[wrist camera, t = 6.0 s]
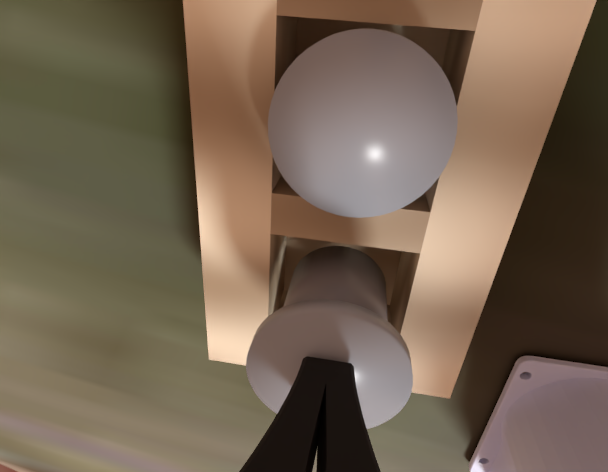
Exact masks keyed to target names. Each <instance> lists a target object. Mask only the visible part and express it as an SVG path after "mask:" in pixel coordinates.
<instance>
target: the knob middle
mask: <svg viewBox="0 0 608 472" xmlns="http://www.w3.org/2000/svg"><path fill="white" fill-rule="evenodd" d="M457 122H458V117H457V106H456V101H455V97H454V93H453V90H452V88H451V85H450V83H449V80H448V79H447V77H446V75H445V73H444V72H443V70H442V68H441V67H440V66H439V65H438V63H437V62H436V61H435V60H434V58H433V57H431V56H430V55H429V54H428V53H427V52H426V51H425V50H424V49H423V48H421V47H420V46H419V45H417V44H416V43H414V42H413V41H411V40H410V39H407V38H405V37H403V36H401V35H399V34H396V33H393V32H390V31H387V30H381V29H374V28H358V29H351V30H346V31H342V32H339V33H335V34H333V35H330V36H328V37H326V38H324V39H322V40H320V41H319V42H317V43H315V44H314V45H312V46H311V47H309V48H308V49H306V50H305V51H304V52H303V53H302V54H300V55H299V56H298V57H297V58H296V59H295V60H294V61H293V63H292V64H291V65H290V66H289V67H288V69H287V70H286V71H285V73H284V74H283V76H282V77H281V79H280V81H279V83H278V85H277V87H276V89H275V92H274V95H273V97H272V100H271V105H270V109H269V117H268V137H269V143H270V148H271V152H272V155H273V158H274V161H275V163H276V165H277V167H278V169H279V171H280V173H281V174H282V176H283V178H284V179H285V180H286V182H287V183H288V184H289V185H290V187H291V188H292V189H293V190H294V191H295V192H296V193H297V194H298V195H299V196H301V197H302V198H303V199H305V200H306V201H307V202H309V203H310V204H312V205H314V206H315V207H317V208H319V209H322V210H324V211H326V212H329V213H332V214H336V215H340V216H345V217H356V218H363V217H374V216H380V215H384V214H387V213H391V212H394V211H396V210H398V209H401V208H403V207H405V206H406V205H408V204H410V203H412V202H413V201H415V200H416V199H417V198H419V197H420V196H422V195H423V194H424V193H425V192H426V191H427V190H428V189H429V188H430V187H431V186H432V185H433V184H434V183H435V181H436V180H437V179H438V178H439V176H440V175H441V173H442V172H443V170H444V169H445V167H446V165H447V163H448V161H449V159H450V157H451V154H452V151H453V148H454V145H455V140H456V134H457Z"/></svg>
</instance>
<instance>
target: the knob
mask: <svg viewBox="0 0 608 472" xmlns="http://www.w3.org/2000/svg"><path fill="white" fill-rule="evenodd" d="M307 356H309V357H315V358H321V359H328V360H334V361H341V362H347V363H351V364H352V365H353V366H354V374H355V382H356V388H357V393H358V398H359V402H360V406H361V411H362V414H363V418H364V422H365V425H366V429H369V428H372V427H375V426H378V425H380V424H382V423H384V422H386V421H388V420H389V419H391V418H393V417H394V416H395V415H396V414H397V413H399V412H400V410H401V409H402V408H403V407H404V406H405V404H406V403H407V401H408V399H409V397H410V394H411V392H412V386H413V374H412V365H411V358H410V352H409V350H408V347H407V344H406V343H405V341H404V339H403V337H402V336H401V335H400V333H399V332H398V331H397V330H396V329H395V328H394V327H393V326H392V325H391V324H390V323H389V322H388V317H387V298H386V282H385V277H384V275H383V272H382V270H381V268H380V267H379V266H378V264H377V263H376V262H375V261H374V260H373V259H372V258H371V257H369V256H368V255H366V254H365V253H363V252H361V251H359V250H356V249H353V248H350V247H345V246H327V247H322V248H319V249H316V250H314V251H312V252H310V253H308V254H307V255H306V256H304V257H303V258H302V259H301V260H300V261H299V263H298V264H297V266H296V268H295V270H294V273H293V276H292V279H291V283H290V286H289V289H288V293H287V296H286V299H285V303H284V306H283V307H282V308H280V309H278V310H277V311H275V312H273V313H272V314H271V315H269V316H268V317H267V318H266V319H265V320H264V321H263V322H262V323H261V325H260V326H259V327H258V329H257V331H256V333H255V335H254V337H253V340H252V343H251V345H250V348H249V351H248V355H247V360H246V370H247V376H248V379H249V382H250V384H251V386H252V388H253V390H254V392H255V393H256V395H257V396H258V397H259V398H260V400H261V401H262V402H263V403H264V404H265V405H266V406H267V407H269V408H270V409H271V410H272V411H274V412H275V413H278V412H279V410H280V408H281V406H282V405H283V403H284V401H285V399H286V397H287V395H288V393H289V391H290V389H291V387H292V385H293V383H294V381H295V379H296V377H297V374H298V372H299V369H300V366H301V363H302V360H303V358H305V357H307Z"/></svg>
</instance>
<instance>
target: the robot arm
mask: <svg viewBox="0 0 608 472" xmlns="http://www.w3.org/2000/svg"><path fill="white" fill-rule="evenodd" d="M523 372H526V373H523ZM317 446H318V449H317ZM316 451H317V472H380V469H379V466H378V463H377V460H376V458H375V455H374V451H373V448H372V445H371V442H370V439H369V435H368V432H367V429H366V425H365V422H364V418H363V414H362V411H361V406H360V402H359V398H358V393H357V388H356V382H355V374H354V366H353V365H352V364H351V363H347V362H341V361H334V360H328V359H321V358H315V357H309V356H307V357H305V358H303V360H302V363H301V366H300V369H299V372H298V374H297V377H296V379H295V381H294V383H293V385H292V387H291V389H290V391H289V393H288V395H287V397H286V399H285V401H284V403H283V405H282V406H281V408H280V410H279V412H278V413H277V415H276V417H275V419H274V420H273V422H272V424H271V425H270V427H269V429H268V430H267V432H266V433H265V435H264V436H263V438H262V439H261V441H260V443H259V444H258V446H257V447H256V449H255V450H254V452H253V453H252V455H251V456H250V457H249V459H248V460H247V462H246V463H245V465H244V466H243V467H242V469H241V470H240V471H239V472H312V469H313V465H314V460H315V455H316ZM469 470H470V472H608V367H603V366H596V365H590V364H583V363H576V362H570V361H563V360H556V359H550V358H543V357H536V356H522V357H520V358H518V360H517V361H516V363H515V365H514V367H513V369H512V371H511V373H510V376H509V378H508V380H507V382H506V384H505V387H504V389H503V391H502V393H501V395H500V397H499V400H498V402H497V404H496V406H495V408H494V410H493V413H492V415H491V417H490V419H489V421H488V423H487V426H486V428H485V430H484V432H483V434H482V437H481V439H480V441H479V443H478V445H477V447H476V450H475V452H474V454H473V456H472V458H471V460H470V463H469Z"/></svg>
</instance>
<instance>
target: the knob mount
mask: <svg viewBox="0 0 608 472" xmlns="http://www.w3.org/2000/svg"><path fill="white" fill-rule="evenodd" d="M596 1H597V0H183V8H184V22H185V36H186V50H187V63H188V77H189V91H190V105H191V118H192V132H193V146H194V160H195V173H196V187H197V201H198V215H199V228H200V242H201V256H202V270H203V284H204V297H205V311H206V325H207V339H208V352H209V360H216V361H222V362H228V363H234V364H240V365H246V360H247V355H248V351H249V348H250V345H251V343H252V340H253V337H254V335H255V333H256V331H257V329H258V327H259V326H260V325H261V323H262V322H263V321H264V320H265V319H266V318H267V317H268V316H269V315H271V314H272V313H273V312H275V311H277V310H278V309H280V308H282V307H283V306H284V303H285V299H286V296H287V293H288V289H289V286H290V283H291V279H292V276H293V273H294V270H295V268H296V266H297V264H298V263H299V261H300V260H301V259H302V258H303V257H304V256H306V255H307V254H308V253H310V252H312V251H314V250H316V249H319V248H322V247H327V246H345V247H350V248H353V249H356V250H359V251H361V252H363V253H365V254H366V255H368V256H369V257H371V258H372V259H373V260H374V261H375V262H376V263H377V264H378V266H379V267H380V268H381V270H382V272H383V275H384V277H385V282H386V298H387V317H388V322H389V323H390V324H391V325H392V326H393V327H394V328H395V329H396V330H397V331H398V332H399V333H400V335H401V336H402V337H403V339H404V341H405V343H406V344H407V347H408V350H409V352H410V358H411V365H412V374H413V386H412V392H413V393H419V394H425V395H431V396H438V397H444V398H450V397H451V394H452V391H453V388H454V386H455V383H456V380H457V378H458V375H459V372H460V369H461V367H462V364H463V361H464V359H465V356H466V353H467V350H468V348H469V345H470V342H471V340H472V337H473V334H474V331H475V329H476V326H477V323H478V321H479V318H480V315H481V312H482V310H483V307H484V304H485V302H486V299H487V296H488V293H489V291H490V288H491V285H492V283H493V280H494V277H495V275H496V272H497V269H498V266H499V264H500V261H501V258H502V256H503V253H504V250H505V247H506V245H507V242H508V239H509V237H510V234H511V231H512V228H513V226H514V223H515V220H516V218H517V215H518V212H519V209H520V207H521V204H522V201H523V199H524V196H525V193H526V190H527V188H528V185H529V182H530V180H531V177H532V174H533V171H534V169H535V166H536V163H537V161H538V158H539V155H540V152H541V150H542V147H543V144H544V142H545V139H546V136H547V133H548V131H549V128H550V125H551V123H552V120H553V117H554V114H555V112H556V109H557V106H558V104H559V101H560V98H561V96H562V93H563V90H564V87H565V85H566V82H567V79H568V77H569V74H570V71H571V68H572V66H573V63H574V60H575V58H576V55H577V52H578V49H579V47H580V44H581V41H582V39H583V36H584V33H585V30H586V28H587V25H588V22H589V20H590V17H591V14H592V11H593V9H594V6H595V3H596ZM358 28H374V29H381V30H387V31H390V32H393V33H396V34H399V35H401V36H403V37H405V38H407V39H410V40H411V41H413V42H414V43H416V44H417V45H419V46H420V47H421V48H423V49H424V50H425V51H426V52H427V53H428V54H429V55H430V56H431V57H433V58H434V60H435V61H436V62H437V63H438V65H439V66H440V67H441V68H442V70H443V72H444V73H445V75H446V77H447V79H448V80H449V83H450V85H451V88H452V90H453V93H454V97H455V101H456V106H457V117H458V122H457V134H456V140H455V145H454V148H453V151H452V154H451V157H450V159H449V161H448V163H447V165H446V167H445V169H444V170H443V172H442V173H441V175H440V176H439V178H438V179H437V180H436V181H435V183H434V184H433V185H432V186H431V187H430V188H429V189H428V190H427V191H426V192H425V193H424V194H423V195H422V196H420V197H419V198H417V199H416V200H415V201H413V202H412V203H410V204H408V205H406V206H405V207H403V208H401V209H398V210H396V211H394V212H391V213H387V214H384V215H380V216H374V217H363V218H356V217H345V216H340V215H336V214H332V213H329V212H326V211H324V210H322V209H319V208H317V207H315V206H314V205H312V204H310V203H309V202H307V201H306V200H305V199H303V198H302V197H301V196H299V195H298V194H297V193H296V192H295V191H294V190H293V189H292V188H291V187H290V185H289V184H288V183H287V182H286V180H285V179H284V178H283V176H282V174H281V173H280V171H279V169H278V167H277V165H276V163H275V161H274V158H273V155H272V152H271V148H270V143H269V137H268V117H269V109H270V105H271V100H272V97H273V95H274V92H275V89H276V87H277V85H278V83H279V81H280V79H281V77H282V76H283V74H284V73H285V71H286V70H287V69H288V67H289V66H290V65H291V64H292V63H293V61H294V60H295V59H296V58H297V57H298V56H299V55H300V54H302V53H303V52H304V51H305V50H306V49H308V48H309V47H311V46H312V45H314V44H315V43H317V42H319V41H320V40H322V39H324V38H326V37H328V36H330V35H333V34H335V33H339V32H342V31H346V30H351V29H358Z"/></svg>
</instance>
